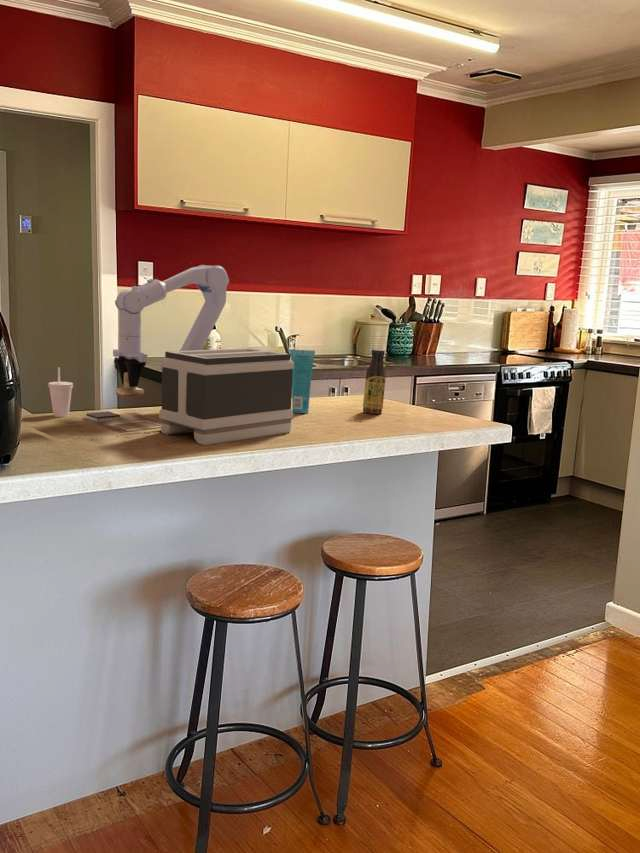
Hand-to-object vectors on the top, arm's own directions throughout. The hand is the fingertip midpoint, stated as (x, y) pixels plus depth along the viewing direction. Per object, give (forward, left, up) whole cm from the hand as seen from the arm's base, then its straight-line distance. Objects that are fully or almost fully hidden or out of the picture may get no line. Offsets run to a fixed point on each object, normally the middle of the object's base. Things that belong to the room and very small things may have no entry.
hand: (129, 385), depth 214 cm
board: (+4, +6, -9) cm, 12 cm away
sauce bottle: (-70, +27, -10) cm, 76 cm away
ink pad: (+8, 0, -9) cm, 12 cm away
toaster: (-14, +28, -10) cm, 33 cm away
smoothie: (+15, -10, -10) cm, 20 cm away
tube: (-50, +15, -10) cm, 53 cm away
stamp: (0, 0, -2) cm, 2 cm away
